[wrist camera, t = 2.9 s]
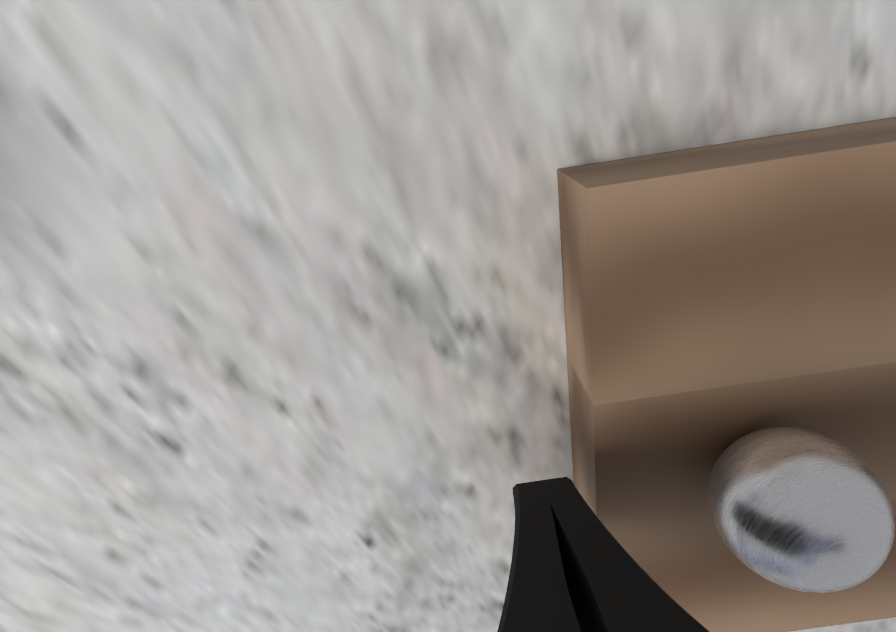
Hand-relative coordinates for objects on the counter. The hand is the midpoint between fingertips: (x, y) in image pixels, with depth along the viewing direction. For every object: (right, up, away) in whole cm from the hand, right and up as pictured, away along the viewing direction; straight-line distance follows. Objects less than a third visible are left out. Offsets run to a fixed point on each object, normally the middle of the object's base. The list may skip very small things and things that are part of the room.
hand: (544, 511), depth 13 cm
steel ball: (+5, 0, -1) cm, 6 cm away
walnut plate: (+10, +3, +3) cm, 11 cm away
